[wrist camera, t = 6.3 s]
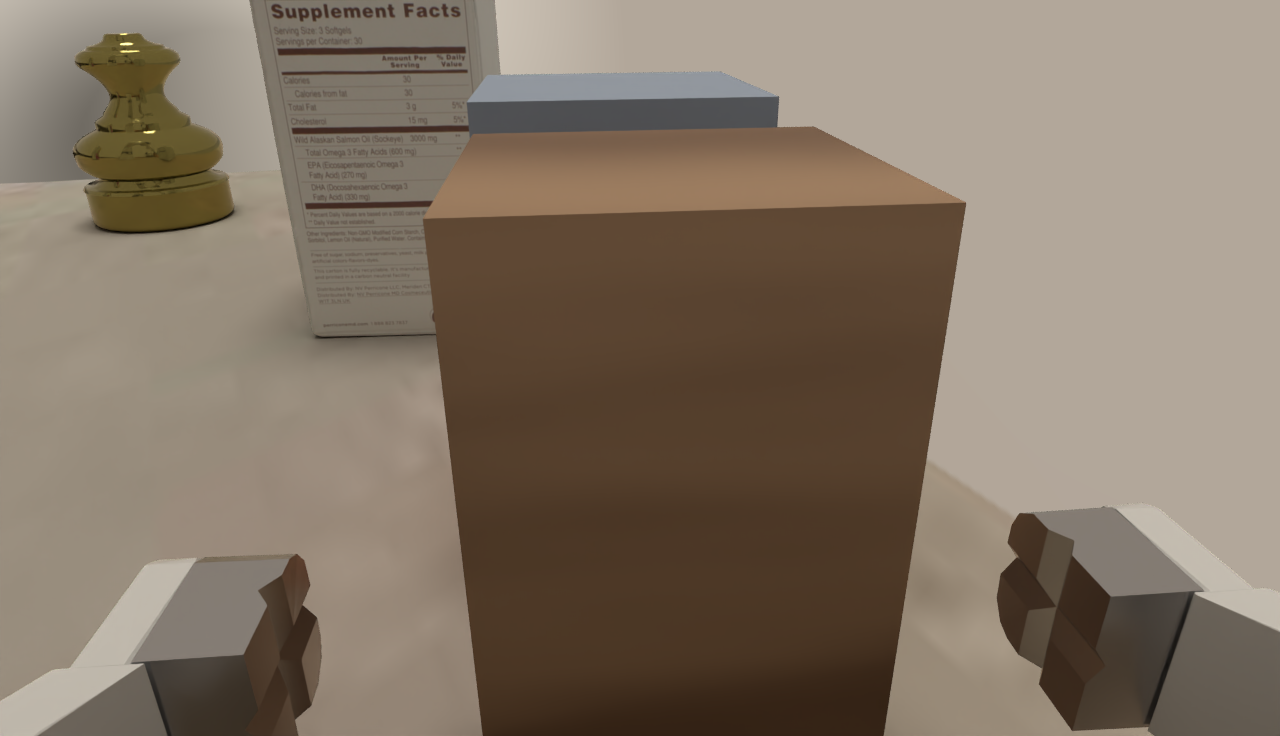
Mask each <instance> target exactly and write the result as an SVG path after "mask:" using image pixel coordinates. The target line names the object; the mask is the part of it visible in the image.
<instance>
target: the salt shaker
mask: <svg viewBox="0 0 1280 736" xmlns="http://www.w3.org/2000/svg"><path fill="white" fill-rule="evenodd" d="M74 59H75V64H76V65H77V66H78V67H79V68H80V69H82V70H84V71H86V72H87V73H89V74H90V75H92V76H93V77H95V78H96V79H97V80H98V81H99V82H101V84H102V85H103V86H104V87H105V88H106V90H107V91H108V93H109V96H110V101H109V104H108V106H107V107H106V109H105V111H104V112H103V116H101V117H100V118H99V119H97V120H96V121H95V127H96V129H95V130H93V131H92V132H90V133H88V134H86V135H85V136H83V137H82V138H81V139H79V140H78V141H77V143H76V144H75V145H74V148H73V155H74V158H75V161H76V163H77V165H78V166H79V168H80V169H82V170H83V171H85V172H86V173H88V174H90V175H92V176H94V177H96V178H99V179H98V180H95V181H93V182H90V183H88V184H87V185H86V186H85V187H84V189H83V191H84V192H85V193H86V196H87V199H88V203H89V207H90V211H91V214H92V218H93V222H94V223H95V224H96V225H97V226H99V227H101V228H104V229H107V230H112V231H120V232H152V231H164V230H173V229H180V228H186V227H192V226H197V225H201V224H205V223H209V222H212V221H216V220H218V219H221V218H223V217H225V216H227V215H228V214H229V213H231V212H232V210H233V209H234V203H233V199H232V194H231V189H230V185H229V180H228V179H229V175H228V174H226V173H225V172H223V171H220V170H214V169H211V168H212V167H214V165H216V164H217V163H218V162H219V161H220V159H221V158H222V156H223V144H222V141H221V139H220V137H219V136H218V135H217V134H216V133H214V132H213V131H211V130H209V129H207V128H205V127H203V126H200V125H197V124H194V123H191V119H190V116H188V115H187V114H185V113H183V112H181V111H179V109H178V108H177V107H176V106H174V105H173V104H172V103H171V102H170V101H169V100H168V99H167V98H166V96H165V94H164V85H165V82H166V79H167V78H168V76H169V74H170V73H171V72H172V70H173V69H174V68H175V67H176V66H177V65H179V63H180V57H179V54H178V53H177V52H176V51H174V50H172V49H170V48H165V46H163V44H157V43H153V42H150V41H147V40H146V39H144V37H143V36H142V35H141V34H140V33H110V34H104V36H103V39H102V41H101V42H99V43H97V44H95V45H91V46H87V47H86V49H85V50H83V51H80V52H79V53H77V54H76V55H75V56H74Z"/></svg>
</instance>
